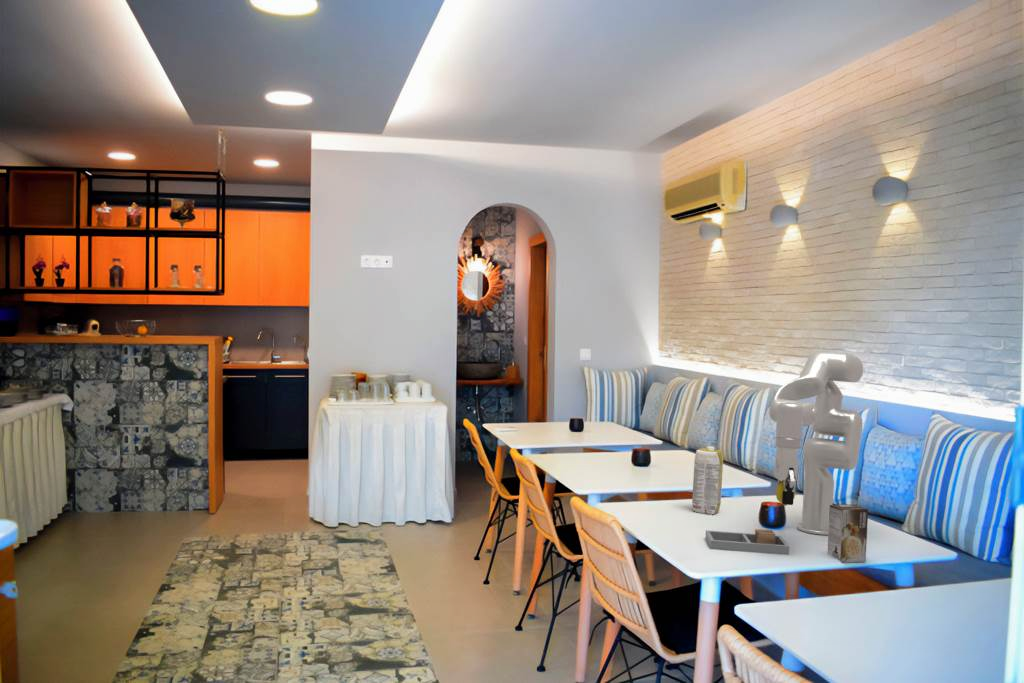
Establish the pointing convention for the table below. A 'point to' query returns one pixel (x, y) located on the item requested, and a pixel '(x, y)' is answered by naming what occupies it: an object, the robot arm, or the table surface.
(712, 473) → the juice carton
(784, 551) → the slot tray
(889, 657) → the table surface
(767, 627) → the table surface
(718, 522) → the table surface
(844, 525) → the coffee box
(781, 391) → the robot arm
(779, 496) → the lemon
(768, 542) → the walnut block
